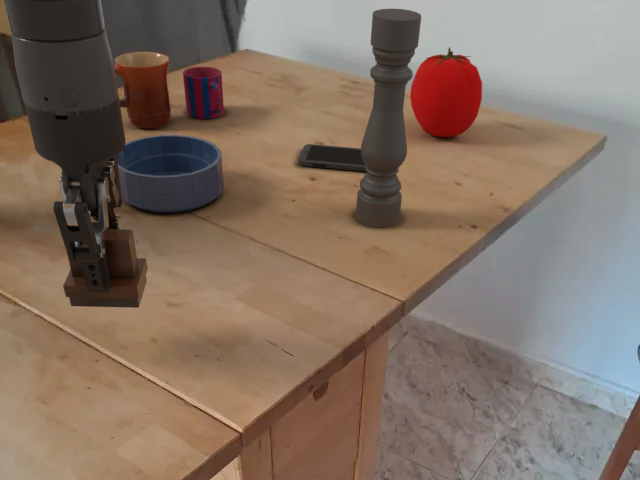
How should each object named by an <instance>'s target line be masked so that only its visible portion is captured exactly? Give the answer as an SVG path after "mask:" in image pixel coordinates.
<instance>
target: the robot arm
mask: <svg viewBox="0 0 640 480" xmlns="http://www.w3.org/2000/svg"><path fill="white" fill-rule="evenodd" d="M2 2H3V6H4V10H5V13H6V14H5V15H6V18H7V22H8V26H9V30H10V35H11V42H12V48H13V58H14V65H15V66H14V67H15V71H16V75H17V79H18V83H19V88H20V91H21V95H22V101H23V105H24V107H25V112H26V116H27V117H26V118H27V121H28V125H29V129H30V133H31V136H32V141H33V146H34V149H35V151H36V153H37V154H38V155H39V156H40V157H41V158H43V159H45V160H47V161H49V162H52V163H54V164H56V165H57V166H58V167H60V169H61V176H60V177H59V191H60V196H61V197H62V198H63V201H61V200H56V201H54V202H53V206H52V210H53V214H54V216H55V219H56V222H57V226H58V228H59V232H60V235H61V238H62V242H63V244H64V248H65V250H66V255H67V254H68V255H67V258H68V257H69V260H70V261H71V262H76V261H81V265H82V270H83V274H84V279H85V283H86V288H87V290H88V291H90V292H109V291H110V288H111V279H110V274H109V269H108V264H107V259H106V249H105V242H104V232H105V231H106V230H108V229H120V226H119V222H120V220H121V213H120V210H119V208H122V207H123V203H124V201H123V200H122V196H121V188H120V179H119V171H118V162H117V155H118V154H120V153H121V152H122V151H123V149H124V147H125V144H126V143H127V141H126V133H125V127H124V121H123V114H122V107H120V100H119V99H120V95H119V89H118V87H119V86H118V81H117V74H116V73H115V67H114V65H115V61H114V57H113V54H112V50H111V46H110V43H109V39H108V36H107V30H106V24H105V17H104V9H103V3H102V0H2ZM83 242H85V243H87V244H83ZM69 260H68V261H69Z"/></svg>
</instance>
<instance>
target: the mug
mask: <svg viewBox="0 0 640 480" xmlns="http://www.w3.org/2000/svg"><path fill="white" fill-rule="evenodd" d="M169 64H170V58H169V56H168V55H166V54H163V53H161V52H160V53H159V52H153V51H134V52H128V53H124V54H120V55H118V56H117V57H115V58H114V67H115V74H116V76H117V75H118V76H119V77H120V78H121V80H122V86H123V94H124V95H123V97H121V98H119V100H120V107H121V108H125V110H126V111H125V112H126V113H127V117H128V119H129V123H131V125H133V126H134V127H135V128H138V129H143V130H155V129H160V128H163V127H166V126H167V125H168V124H169V123H170V122H171V115H172V107H171V99H170V92H169V86H168V71H169V66H170V65H169Z"/></svg>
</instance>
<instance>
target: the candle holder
mask: <svg viewBox="0 0 640 480" xmlns="http://www.w3.org/2000/svg"><path fill="white" fill-rule="evenodd" d="M371 19H372V20H371V31H370V32H371V33H370V46H372V47H371V48H372V49H371V51H372V54H373V56H374V60H375V61H374V62H376V63H375V65H373V66H372V67H371V68H370V71H369V72H370V73H369V74H370V75H369V76H370V78H372V80H373V83H374V87H373V88H374V89H373V100H372V108H371V112H370V115H369V117H368V121H367V124H366V128H365V132H364V134H363V138H362V140H361V144H360V149H361V156H362V159H363V162H364V163H365V165H366V171H367V172H366V171H365V172H366V173H365V174H364V175H363V177H362V178H361V179H360V180H359V189H358V191H357V193H356V204H355V205H356V206H355V219H356V220H357V221H358V223H361V224H363V225H364V226H367V227H371V228H388V227H389V228H390V227H392V226H395V225H396V224H398V222H400V216H401V208H402V200H403V195H402V192H400V191H401V190H402V182H401V181H400V179H399V176H398V175H397V174H398V173H399V168H400V167H402V165H403V163H404V162H405V161H406V158H407V155H408V144H407V135H406V125H405V124H406V123H405V115H404V105H405V96H406V87H407V85H408V83H409V82H410V81H411V80H412V79H413V75H414V74H413V70H412V69H411V67H409V64H410V63H411V60H412V58H413V57H414V56H415V54H416V49H417V48H418V47H419V41H420V40H419V39H420V33H421V24H422V15H421V13H419V12H417V11H415V10H410V9H404V8H380V9H376V10H374V11H373V12H372V18H371Z"/></svg>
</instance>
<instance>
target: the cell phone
mask: <svg viewBox="0 0 640 480" xmlns="http://www.w3.org/2000/svg"><path fill="white" fill-rule="evenodd" d="M297 162H298V165H299V166H303V167H314V168H323V169H334V170H345V171H356V172H366V173H367V171H366V165H365V163H364V162H363V159H362V156H361V147H360V148H359V147H349V146H348V147H347V146H335V145H326V144H325V145H324V144H315V143H313V144H312V143H308V144H307V143H306V144H305V145H304V146H303V147H302V150H301V152H300V154H299V157H298V161H297Z"/></svg>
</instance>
